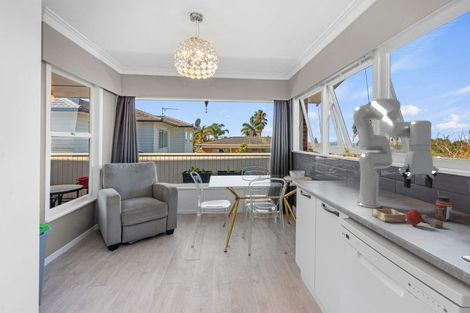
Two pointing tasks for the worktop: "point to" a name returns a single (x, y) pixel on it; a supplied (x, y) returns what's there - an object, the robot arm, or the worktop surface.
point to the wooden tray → (388, 215)
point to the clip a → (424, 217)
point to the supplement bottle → (443, 209)
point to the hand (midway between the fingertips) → (417, 187)
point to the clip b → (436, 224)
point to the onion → (414, 217)
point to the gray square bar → (431, 221)
